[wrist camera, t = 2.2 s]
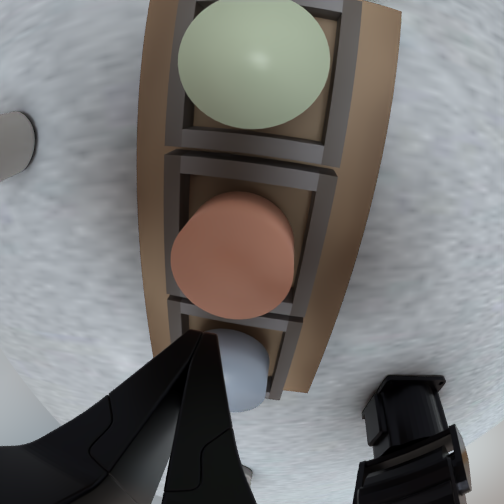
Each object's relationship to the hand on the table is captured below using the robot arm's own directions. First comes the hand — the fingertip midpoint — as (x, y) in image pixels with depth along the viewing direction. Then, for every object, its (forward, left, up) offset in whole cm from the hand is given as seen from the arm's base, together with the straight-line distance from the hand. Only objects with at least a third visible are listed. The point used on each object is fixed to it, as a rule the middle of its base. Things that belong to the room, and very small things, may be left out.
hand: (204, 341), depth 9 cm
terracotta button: (0, 0, -7) cm, 7 cm away
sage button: (0, -8, -7) cm, 10 cm away
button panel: (0, 0, -10) cm, 10 cm away
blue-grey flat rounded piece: (0, +8, -6) cm, 10 cm away
